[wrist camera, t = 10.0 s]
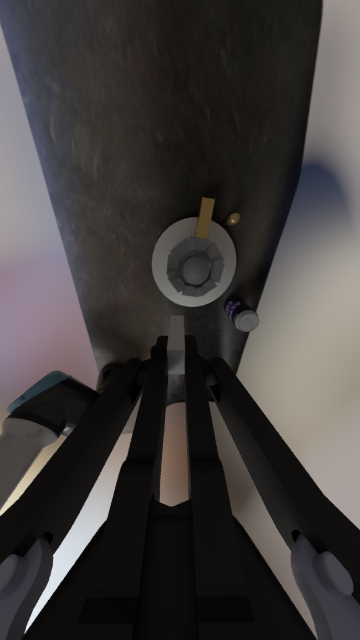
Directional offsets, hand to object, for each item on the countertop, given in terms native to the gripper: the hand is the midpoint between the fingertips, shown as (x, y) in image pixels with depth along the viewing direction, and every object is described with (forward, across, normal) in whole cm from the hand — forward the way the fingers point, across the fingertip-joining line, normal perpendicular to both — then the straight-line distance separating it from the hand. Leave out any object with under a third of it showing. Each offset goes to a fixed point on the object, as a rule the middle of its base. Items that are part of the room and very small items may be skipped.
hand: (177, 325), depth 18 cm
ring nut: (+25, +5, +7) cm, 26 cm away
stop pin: (+26, +12, +14) cm, 32 cm away
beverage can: (+27, +16, -8) cm, 32 cm away
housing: (+26, +4, +4) cm, 27 cm away
